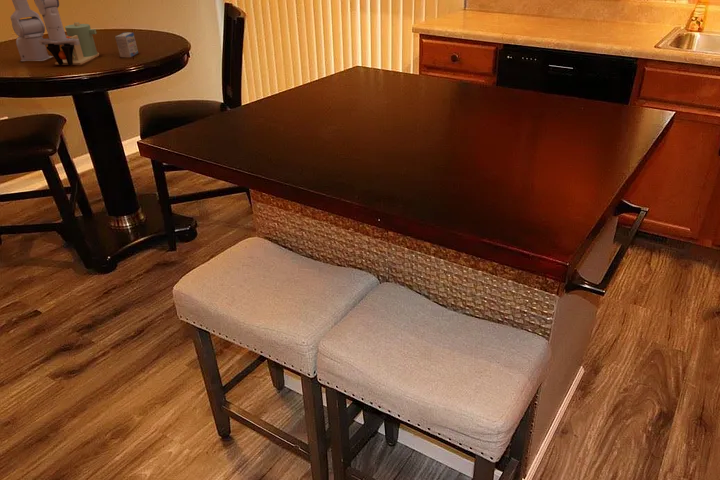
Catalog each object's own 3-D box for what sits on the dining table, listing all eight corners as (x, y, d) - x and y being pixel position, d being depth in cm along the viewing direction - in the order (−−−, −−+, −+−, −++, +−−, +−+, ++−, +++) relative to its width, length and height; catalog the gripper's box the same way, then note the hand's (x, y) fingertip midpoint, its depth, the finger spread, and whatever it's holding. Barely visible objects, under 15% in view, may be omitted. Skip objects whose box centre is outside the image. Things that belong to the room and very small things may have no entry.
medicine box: (131, 58, 233) (125, 36, 229) (120, 58, 233) (114, 36, 229) (138, 54, 240) (133, 32, 235) (128, 54, 240) (123, 32, 235)
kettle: (68, 60, 231) (57, 24, 223) (81, 54, 240) (71, 19, 233) (96, 60, 231) (87, 25, 223) (109, 54, 240) (100, 20, 233)
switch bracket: (81, 66, 223) (73, 39, 217) (55, 65, 223) (47, 39, 217) (95, 58, 233) (88, 33, 227) (71, 58, 233) (63, 33, 228)
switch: (68, 61, 220) (64, 54, 217) (60, 61, 220) (55, 54, 217) (77, 42, 226) (73, 35, 223) (68, 42, 226) (64, 35, 223)
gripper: (29, 28, 210) (41, 66, 218) (68, 29, 210) (79, 67, 217) (39, 25, 216) (51, 62, 224) (77, 25, 216) (88, 62, 223)
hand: (65, 64), depth 221 cm, fingers closed on switch, 3 cm apart
